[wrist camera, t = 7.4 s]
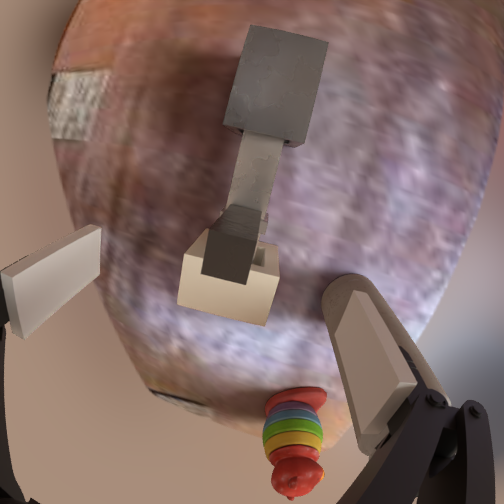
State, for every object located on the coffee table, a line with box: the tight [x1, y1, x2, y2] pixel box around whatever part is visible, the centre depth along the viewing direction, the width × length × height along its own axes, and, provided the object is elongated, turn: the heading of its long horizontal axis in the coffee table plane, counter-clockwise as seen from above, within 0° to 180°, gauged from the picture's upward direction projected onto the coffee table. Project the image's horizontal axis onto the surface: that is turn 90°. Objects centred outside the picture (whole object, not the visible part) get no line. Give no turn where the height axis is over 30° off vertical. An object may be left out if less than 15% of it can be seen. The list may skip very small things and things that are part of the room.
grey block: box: [223, 25, 329, 148], centre depth 26 cm, size 10×7×10 cm
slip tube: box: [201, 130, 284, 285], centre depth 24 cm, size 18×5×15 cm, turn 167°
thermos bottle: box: [321, 274, 451, 498], centre depth 24 cm, size 8×8×28 cm
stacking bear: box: [263, 387, 327, 501], centre depth 36 cm, size 11×10×18 cm
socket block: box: [177, 228, 280, 326], centre depth 32 cm, size 6×9×10 cm, turn 77°
